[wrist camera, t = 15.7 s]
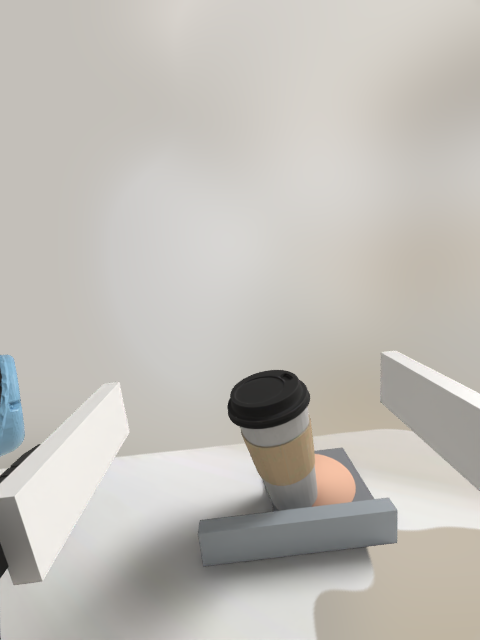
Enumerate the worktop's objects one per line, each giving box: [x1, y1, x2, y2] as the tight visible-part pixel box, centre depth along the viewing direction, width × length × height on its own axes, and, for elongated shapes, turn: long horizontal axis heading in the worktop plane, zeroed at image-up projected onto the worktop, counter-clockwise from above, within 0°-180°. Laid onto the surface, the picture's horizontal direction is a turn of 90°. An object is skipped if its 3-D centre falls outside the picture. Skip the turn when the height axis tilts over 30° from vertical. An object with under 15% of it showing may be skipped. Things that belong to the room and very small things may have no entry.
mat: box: [272, 448, 374, 511], centre depth 35 cm, size 12×11×1 cm
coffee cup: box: [228, 370, 317, 511], centre depth 32 cm, size 9×9×15 cm
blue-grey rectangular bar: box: [198, 498, 397, 566], centre depth 28 cm, size 20×2×4 cm, turn 92°
